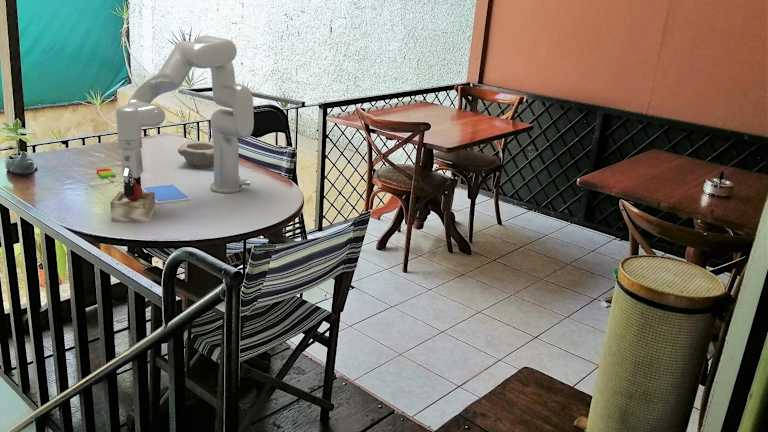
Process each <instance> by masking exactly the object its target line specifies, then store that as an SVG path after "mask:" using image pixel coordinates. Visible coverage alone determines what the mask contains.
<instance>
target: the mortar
mask: <svg viewBox="0 0 768 432" xmlns="http://www.w3.org/2000/svg"><path fill="white" fill-rule="evenodd" d="M177 152H178V154H179V155H180V157H181V156H182V157H183V158H184V160H185V161H186V163H187V165H188V166H190V168H191V167H192V168H194V169H195V168H196V169H207V168H211V167H214V143H213V142H212V141H204V140H188V141H187V142H183V143H182V144H181V145H180V147H178V149H177Z"/></svg>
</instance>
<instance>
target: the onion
mask: <svg viewBox="0 0 768 432" xmlns="http://www.w3.org/2000/svg"><path fill="white" fill-rule="evenodd" d="M133 185H134V194H135V195H134V197H131V196H126V198H127V199H128V200H130V201H132V202H136V201H137V200H138V199H140V198H141V196H142V192H144V191H143V190H142V188H143V187H142V186H141V187H140V185H138V184H137V183H136V181H135V180H133Z"/></svg>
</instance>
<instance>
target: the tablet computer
mask: <svg viewBox="0 0 768 432" xmlns="http://www.w3.org/2000/svg"><path fill="white" fill-rule="evenodd" d="M141 188H142V191H143V192H155V204H158V205H163V204H171V203H178V202H186V201H190V200H191V198H190V196H188V195H187V194H186V193H184V192H183V191H182V190H181V189H179V188H178V187H177V186H175V185H174V184H166V185H156V186H146V187H141Z"/></svg>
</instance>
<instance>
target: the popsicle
mask: <svg viewBox="0 0 768 432" xmlns="http://www.w3.org/2000/svg"><path fill="white" fill-rule="evenodd" d="M96 174H97V175H98V177H99V178H100V179H102V180H105V179H108V181H110V182H111V183H112V182H114V180H113V179H115V178H117V175H116V174H115V172H113V170H112V169H110V168H101V169H97V170H96Z"/></svg>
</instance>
